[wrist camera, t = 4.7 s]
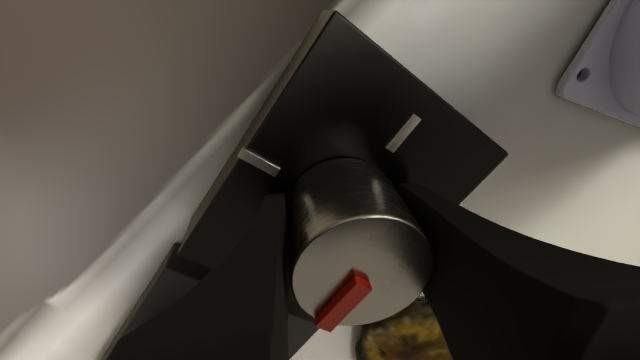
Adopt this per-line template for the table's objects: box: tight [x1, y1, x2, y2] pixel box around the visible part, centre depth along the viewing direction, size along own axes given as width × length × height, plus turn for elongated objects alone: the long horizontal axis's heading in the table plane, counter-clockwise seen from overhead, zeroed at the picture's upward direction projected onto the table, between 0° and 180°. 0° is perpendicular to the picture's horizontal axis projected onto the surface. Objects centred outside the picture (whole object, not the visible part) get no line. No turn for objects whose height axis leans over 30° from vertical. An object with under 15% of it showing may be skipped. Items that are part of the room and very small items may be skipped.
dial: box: [286, 158, 434, 332], centre depth 10 cm, size 4×4×4 cm
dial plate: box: [178, 10, 508, 303], centre depth 13 cm, size 10×8×3 cm
